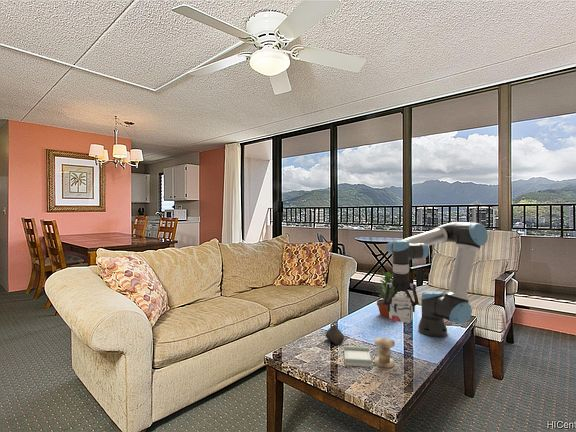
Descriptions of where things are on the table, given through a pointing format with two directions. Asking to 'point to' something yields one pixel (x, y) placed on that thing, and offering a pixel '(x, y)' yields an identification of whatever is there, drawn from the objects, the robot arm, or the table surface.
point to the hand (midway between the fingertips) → (400, 318)
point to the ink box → (401, 308)
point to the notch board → (357, 356)
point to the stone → (335, 335)
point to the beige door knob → (384, 352)
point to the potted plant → (380, 302)
